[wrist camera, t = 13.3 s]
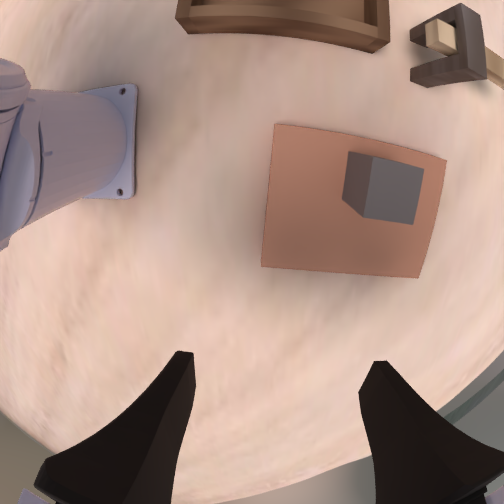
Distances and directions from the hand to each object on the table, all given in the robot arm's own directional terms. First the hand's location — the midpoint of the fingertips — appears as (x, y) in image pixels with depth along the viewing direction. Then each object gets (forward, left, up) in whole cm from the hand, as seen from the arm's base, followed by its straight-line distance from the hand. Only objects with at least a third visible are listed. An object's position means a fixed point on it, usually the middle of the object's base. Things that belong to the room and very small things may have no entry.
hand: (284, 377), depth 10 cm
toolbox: (+1, +19, -10) cm, 22 cm away
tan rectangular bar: (+11, +16, -6) cm, 21 cm away
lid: (+5, +5, -11) cm, 13 cm away
